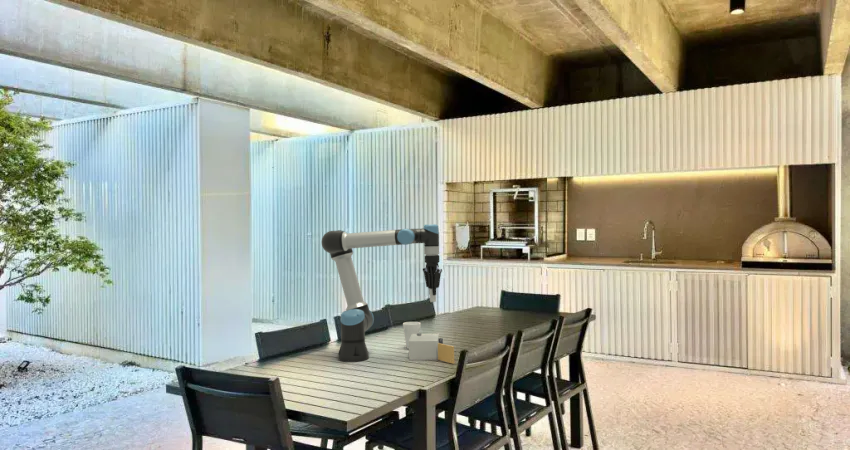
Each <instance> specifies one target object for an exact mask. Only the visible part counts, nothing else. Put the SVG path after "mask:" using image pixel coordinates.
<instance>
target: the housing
mask: <svg viewBox="0 0 850 450" xmlns="http://www.w3.org/2000/svg"><path fill="white" fill-rule="evenodd" d="M436 343H441V344H444V338H443V337H440V333H421V332H420V333H417V334H412V335H411V337H410V340H409V349H408V359H409V361H423V360H424V361H431V360H432V361H433V360H434V361H435V360H437V355H436ZM437 361H438V360H437Z"/></svg>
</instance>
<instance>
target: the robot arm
mask: <svg viewBox="0 0 850 450" xmlns="http://www.w3.org/2000/svg"><path fill="white" fill-rule="evenodd" d="M439 230H440V229H439V225H438V224H435V223H434V224H433V223H432V224H431V223H430V224H424V225H423V227H422V228H401V229H400V228H399V229H390V230H389V229H387V230H375V231H362V232H361V231H360V232H347V231H344V230H341V229H339V230H329V231H327V232H326V233H324V235H323V236H322V238H321V247H322V249H323V250H324V251H325V252H327V253H328V254H329V255H330V258H331V260H333V262H335V265H336V269H337V272H338V275H339V276H338V278H339V280H340V283H341V286H342V287H341V288H342V291H343V293H344V298H345V301H346V309H345V311H342V312H341V314H340V320H339V321H340V337H341V339H340V342H341V343H340V347H339V350H338V354H337V359H338V361H340V362H350V363H352V362H362V361H365V360H368V359H369V358H370V356H369V355H370V353H369V349H368V348H367V345H366V338H365V337H366V332H367V331H369V330H370V329H371V327H372V326H373V324H374V320H375V317H374V314H373V312H372V311H371V310H370V309H369V304H368V303H367V302H366V301H364V297H363V294H362V291H361V287H360V283H359V280H358V276H357V273H356V270H355V269H356V268H355V266H354V265H355V264H354V262H353V261H354V260H353V258H352V257H353V254H354V251H353V249H362V248H364V249H365V248H375V247H377V248H378V247H387V246H401V245H402V246H403V245H404V246H406V245H412V244H423V246H424V247H423V248H424V249H423V251H424V263H425V267H424V268H422V272H423V275H424V276H423V277H424V281H425V286H426V288H428V290H429V291H428V292H429V302H430V303H434V302H437V289H438V288H440V284H441V282H440V281H441V275H442V272H443V268H440V265H439V263H440V232H439Z"/></svg>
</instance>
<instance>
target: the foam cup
mask: <svg viewBox="0 0 850 450" xmlns="http://www.w3.org/2000/svg"><path fill="white" fill-rule="evenodd" d="M421 325H422V323H421V322H418V321H406V322H403V323H402V328H403V334H404V340H405V346H406V349H408V350H409V340H410V337H411V335H412V334H417V333H421V328H422V326H421Z"/></svg>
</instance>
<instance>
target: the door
mask: <svg viewBox="0 0 850 450" xmlns="http://www.w3.org/2000/svg"><path fill="white" fill-rule="evenodd" d="M436 355H437V361H442V362H446V363H449V364H455V346H453V345H449V344H444V343H443V344H441V343H436Z"/></svg>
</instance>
